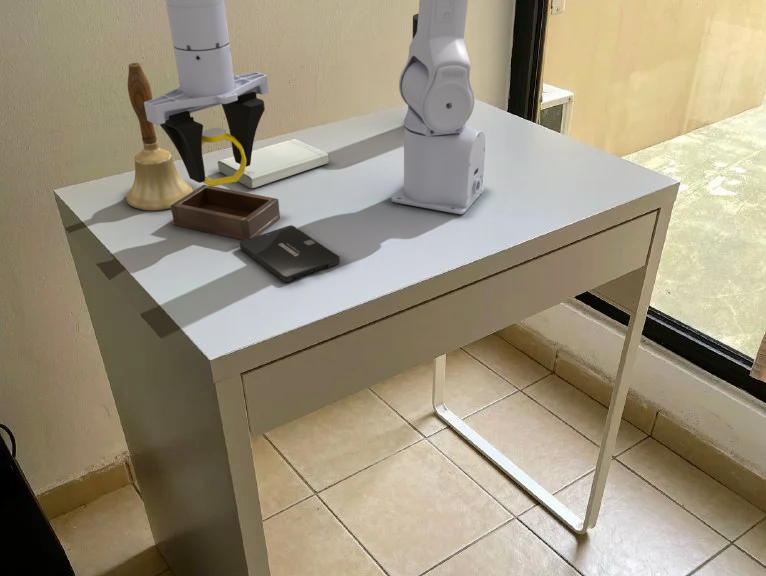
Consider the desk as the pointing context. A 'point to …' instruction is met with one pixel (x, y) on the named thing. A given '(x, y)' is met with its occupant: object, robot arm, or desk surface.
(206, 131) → the watch
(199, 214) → the wooden tray
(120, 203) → the desk surface
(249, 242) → the solid state drive
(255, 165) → the hard drive
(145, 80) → the hand bell
